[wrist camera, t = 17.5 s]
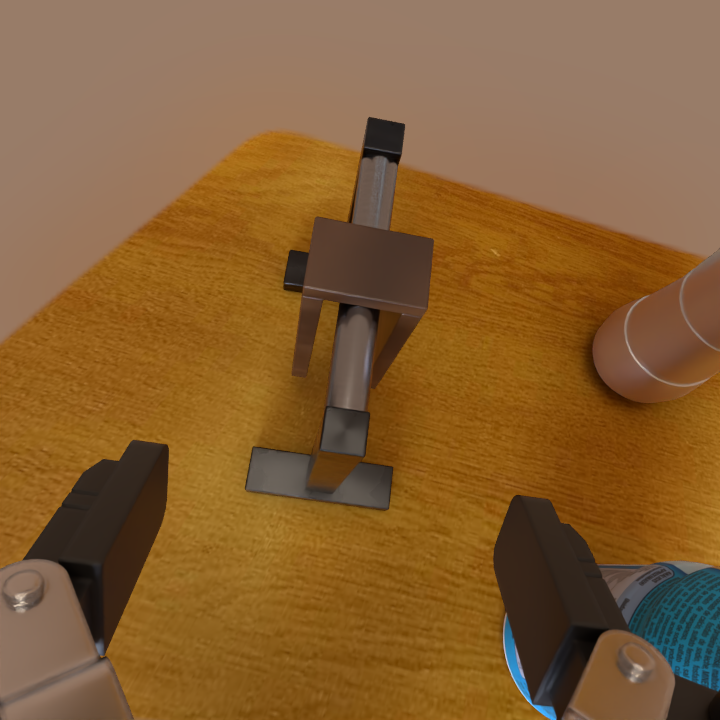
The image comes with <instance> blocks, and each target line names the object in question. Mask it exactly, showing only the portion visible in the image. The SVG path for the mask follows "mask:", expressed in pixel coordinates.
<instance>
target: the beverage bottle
mask: <svg viewBox="0 0 720 720" xmlns="http://www.w3.org/2000/svg"><path fill="white" fill-rule="evenodd" d="M597 565H598V567H599V569H600V571H601V573H602V579H605V581H606V583H607V585H608V587H609V589H610V591H611V593H612V595H613V597H614V599H615V601H616V603H617V605H618V607H619V609H620V611H621V613H622V615H623V617H624V619H625V621H626V623H627V625H628V627H629V629H630V631H631V633H633V634H635V635H637V636H639V637H641V638H643V639H645V640H646V641H648V642H649V643H650V644H652V645H653V646H654V647H655V648H656V649H657V650H658V651H659V652H660V653H661V654H662V655H663V656H664V657H665V659H666V660H667V662H668V663H669V665H670V667H671V669H672V671H673V673H674V674H676V675H678V676H680V677H683V678H685V679H688V680H690V681H693V682H695V683H698V684H700V685H703V686H705V687H708V688H710V689H713V690H715V691H719V689H720V566H711V565H707V564H703V563H697V562H689V561H665V562H659V563H654V564H650V565H621V564H597ZM503 644H504V652H505V657H506V661H507V664H508V667H509V670H510V673H511V675H512V677H513V679H514V681H515V683H516V685H517V687H518V688H519V690H520V691H521V693H522V694H523V695H524V697H525V698H526V699H527V700H528V701H529V702H530V704H531V705H532V701H531V698H530V694H529V691H528V687H527V684H526V680H525V677H524V673H523V670H522V666H521V663H520V659H519V655H518V652H517V648H516V645H515V641H514V638H513V634H512V631H511V627H510V624H509V620H508V617H507V613H506V615H505V619H504V627H503ZM532 706H533V707H535V708H536V709H537V710H538V711H539V712H540V713H542V714H543V715H545V716H546V717H548V718H549V719H551V720H556V719H557V718H556V714H555V711H554V708H553V707H549V706H540V705H532Z"/></svg>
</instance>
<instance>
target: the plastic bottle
mask: <svg viewBox="0 0 720 720" xmlns="http://www.w3.org/2000/svg"><path fill="white" fill-rule="evenodd" d="M592 352H593V359H594V364H595V367H596V369H597V372H598V374H599V375H600V377H601V379H602V380H603V381H604V382H605V383H606V385H608V386H609V387H610V388H611V389H612V390H613V391H615V392H616V393H618V394H619V395H621V396H623V397H625V398H627V399H629V400H632V401H636V402H640V403H656V402H663V401H669V400H674V399H677V398H680V397H682V396H684V395H686V394H688V393H689V392H691V391H692V390H694V389H696V388H697V387H699V386H700V385H701V384H703V383H704V382H705V381H707V380H708V379H709V378H710V377H711V376H713V375H715V374H717V373H719V372H720V248H719V250H717V251H716V252H715V253H713V255H711V256H710V257H708V258H707V259H706V260H704V261H703V262H702V263H700V264H699V265H698V266H697V267H696V268H695V269H693V270H692V271H690V272H689V273H688V274H686V275H685V276H684V277H682V278H680V279H679V280H677V281H675V282H673V283H671V284H669V285H668V286H666V287H664V288H662V289H660V290H658V291H657V292H655V293H653V294H651V295H648V296H645V297H642V298H640V299H637V300H634V301H632V302H630V303H628V304H626V305H624V306H622V307H620V308H618V309H617V310H615V311H614V312H613V313H612V314H611V315H610V316H609V317H608V318H607V319H606V321H605V322H604V323H603V324H602V325H601V326H600V328H599V329H598V331H597V333H596V335H595V338H594V341H593V350H592Z"/></svg>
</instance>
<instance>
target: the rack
mask: <svg viewBox="0 0 720 720" xmlns="http://www.w3.org/2000/svg"><path fill="white" fill-rule="evenodd" d="M404 130H405V124H402V123H397V122H392V121H387V120H382V119H377V118H371V117H369V118H368V121H367V126H366V130H365V135H364V141H363V146H362V151H361V156H360V161H359V166H358V171H357V176H356V181H355V186H354V191H353V196H352V201H351V206H350V211H349V216H348V221H347V223H353V224H358V225H363V226H368V227H373V228H379V229H384V230H389V231H390V226H391V218H392V209H393V201H394V193H395V185H396V177H397V169H398V165H399V161H400V158H401V154H402V147H403V139H404ZM308 256H309V253H306V252H301V251H295V250H290V251H289V256H288V262H287V267H286V272H285V278H284V290H290V291H296V292H301V293H302V292H303V285H304V279H305V273H306V268H307V262H308ZM379 316H380V309H374V308H368V307H363V306H357V305H352V304H346V303H340V304H339V311H338V317H337V324H336V331H335V337H334V344H333V351H332V358H331V364H330V371H329V378H328V384H327V391H326V398H325V405H324V411H323V416H322V419H321V423H320V426H319V429H318V433H317V436H316V439H315V443H314V446H313V449H312V453H311V455H309V454H302V453H295V452H288V451H281V450H275V449H268V448H261V447H253V448H252V454H251V459H250V464H249V470H248V475H247V480H246V486H245V490H246V491H247V492H254V493H261V494H268V495H275V496H282V497H289V498H297V499H304V500H311V501H318V502H325V503H333V504H340V505H347V506H354V507H361V508H368V509H376V510H383V511H386V510H388V509H389V503H390V494H391V484H392V474H393V467H391V466H384V465H377V464H371V463H364V462H360V461H361V460H362V459H363V458H364V457H365V454H366V445H367V437H368V429H369V420H370V413H369V412H368V405H369V397H370V389H371V381H372V373H373V365H374V356H375V348H376V340H377V332H378V324H379Z"/></svg>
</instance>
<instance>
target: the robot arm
mask: <svg viewBox="0 0 720 720" xmlns="http://www.w3.org/2000/svg"><path fill="white" fill-rule="evenodd" d="M168 459H169V448H168V445H166V444H159V443H152V442H145V441H138V440H133V441H132V442H131V443H130V444H129V446H128V447H127V449H126V451H125V452H124V454H123V455H122V457H121V459H120V460H119V461H114V460H106V459H103V460H101V461H100V462H98V463H97V464H95V465H94V466H92V467H91V468H89V469H88V470H86V471H85V472H83V474H82V475H81V477H80V478H79V480H78V481H77V483H76V484H75V485H74V487H73V488H72V491H71V493H69V494H68V496H67V497H66V498H65V500H64V501H63V503H62V506H61V507H59V508H58V510H57V511H56V513H55V514H54V516H53V517H52V519H51V520H50V521H49V523H48V524H47V526H46V527H45V529H44V530H43V532H42V533H41V534H40V536H39V537H38V539H37V540H36V542H35V543H34V544H33V546H32V547H31V549H30V550H29V552H28V553H27V555H26V556H25V557H24V559H23V560H22V561H19V562H15V563H13V564H10V565H7V566H5V567H3V568H1V569H0V720H134V718H133V715H132V713H131V710H130V708H129V705H128V703H127V700H126V698H125V695H124V693H123V690H122V688H121V685H120V683H119V680H118V677H117V675H116V672H115V670H114V668H113V665H112V663H111V661H110V660H109V658H108V657H106V656H105V657H103V658H101V657H100V655H101V656H104V655H105V653H106V650H107V648H108V646H109V644H110V641H111V639H112V637H113V634H114V632H115V630H116V627H117V625H118V623H119V621H120V618H121V616H122V614H123V611H124V609H125V607H126V605H127V602H128V600H129V598H130V595H131V593H132V591H133V589H134V586H135V584H136V582H137V579H138V577H139V575H140V573H141V570H142V568H143V566H144V563H145V561H146V559H147V557H148V554H149V552H150V550H151V547H152V545H153V543H154V541H155V538H156V536H157V534H158V531H159V529H160V527H161V524H162V521H163V517H164V513H165V509H166V502H167V484H168ZM493 560H494V570H495V574H496V578H497V581H498V585H499V588H500V592H501V596H502V599H503V603H504V606H505V610H506V613H507V617H508V620H509V624H510V627H511V631H512V634H513V638H514V641H515V645H516V648H517V652H518V655H519V659H520V663H521V666H522V670H523V673H524V677H525V680H526V684H527V687H528V691H529V694H530V698H531V701H532V705H540V706H549V707H553V708H554V711H555V714H556V718H557V719H556V720H720V689H719V691H715V690H713V689H710V688H708V687H705V686H703V685H700V684H698V683H695V682H693V681H690V680H688V679H685V678H683V677H680V676H678V675H676V674H674V673H673V671H672V669H671V667H670V665H669V663H668V662H667V660H666V659H665V657H664V656H663V655H662V654H661V653H660V652H659V651H658V650H657V649H656V648H655V647H654V646H653V645H652V644H650V643H649V642H648V641H646V640H645V639H643V638H641V637H639V636H637V635H635V634H633V633H631V631H630V629H629V627H628V625H627V623H626V621H625V619H624V617H623V615H622V613H621V611H620V609H619V607H618V605H617V603H616V601H615V599H614V597H613V595H612V593H611V591H610V589H609V587H608V585H607V583H606V581H605V579H602V573H601V571H600V569H599V567H598V565H597V564H596V563H595V559H594V557H593V555H592V553H591V551H590V549H589V547H588V545H587V543H586V541H585V540H584V539H583V538H582V537H581V536H580V535H579V534H578V533H577V532H576V531H575V530H574V529H573V528H572V527H571V526H570V525H569V524H564V523H561V522H560V520H559V518H558V516H557V514H556V512H555V509H554V507H553V505H552V503H551V502H550V500H548V499H543V498H536V497H529V496H522V495H516V496H514V497H513V499H512V501H511V503H510V506H509V509H508V511H507V514H506V517H505V519H504V522H503V525H502V527H501V530H500V533H499V536H498V538H497V541H496V544H495V548H494V558H493Z"/></svg>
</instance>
